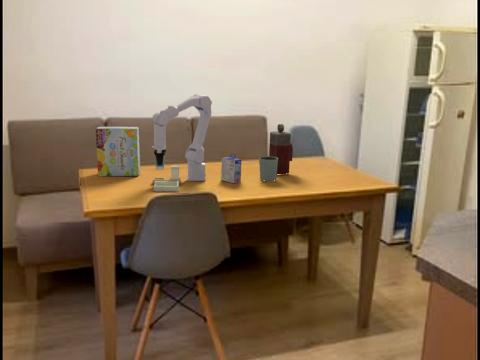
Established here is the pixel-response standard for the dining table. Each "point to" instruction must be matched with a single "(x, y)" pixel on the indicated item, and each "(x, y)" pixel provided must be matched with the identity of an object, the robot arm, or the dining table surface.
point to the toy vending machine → (281, 149)
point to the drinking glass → (268, 168)
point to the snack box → (118, 151)
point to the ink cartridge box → (231, 169)
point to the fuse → (174, 172)
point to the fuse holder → (165, 180)
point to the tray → (166, 186)
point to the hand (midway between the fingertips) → (160, 164)
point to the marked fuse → (160, 166)
